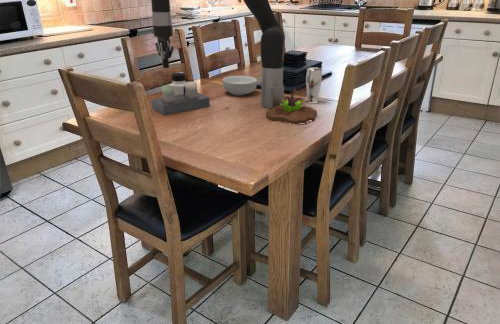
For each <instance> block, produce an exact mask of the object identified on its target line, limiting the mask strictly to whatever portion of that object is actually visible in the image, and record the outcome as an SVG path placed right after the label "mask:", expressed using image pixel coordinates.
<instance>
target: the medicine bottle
mask: <svg viewBox="0 0 500 324" xmlns="http://www.w3.org/2000/svg"><path fill="white" fill-rule="evenodd" d="M171 80H172V81H171V82H172V83H170V84H169V85H172V86H174V94H175V95H180V94H185V83H186V82H187V81H186V74H185V73H184V72H180V71H177V72H176V71H175V72H173V73H172V74H171Z"/></svg>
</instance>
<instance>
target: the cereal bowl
mask: <svg viewBox="0 0 500 324" xmlns="http://www.w3.org/2000/svg"><path fill="white" fill-rule="evenodd" d="M257 86H258V78H255V77H253V76H247V75H229V76H225V77H223V79H222V87H223V88H224V90H225V91H226V92H228V93H231V94H232V95H233V94H234V96H246V95H245V94H247V95H248V94H250V93H252V92H254V91H255V90H256V88H257Z"/></svg>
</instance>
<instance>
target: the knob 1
mask: <svg viewBox="0 0 500 324" xmlns="http://www.w3.org/2000/svg"><path fill="white" fill-rule="evenodd" d="M160 90H161V98H162V100H163V102H165V103H168V102H174V101H175V94H174V86H172V85H170V84H169V85H168V84H167V85H166V84H165V85H162V86H161V89H160Z"/></svg>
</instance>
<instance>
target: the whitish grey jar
mask: <svg viewBox="0 0 500 324" xmlns="http://www.w3.org/2000/svg"><path fill="white" fill-rule="evenodd" d="M185 82H186V83H185V95H186V97H187V98H189V99H190V98H196V97H198V93H199V92H198V90H199V89H198V83H197V81H185Z"/></svg>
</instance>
